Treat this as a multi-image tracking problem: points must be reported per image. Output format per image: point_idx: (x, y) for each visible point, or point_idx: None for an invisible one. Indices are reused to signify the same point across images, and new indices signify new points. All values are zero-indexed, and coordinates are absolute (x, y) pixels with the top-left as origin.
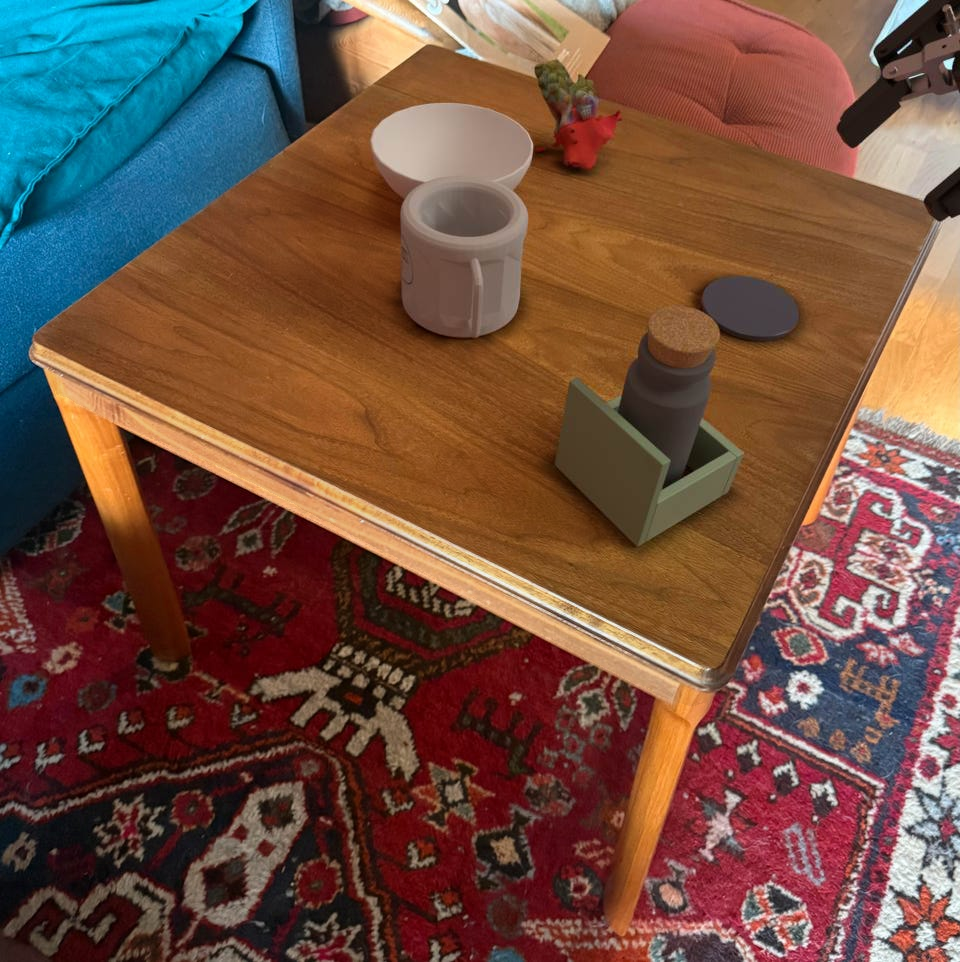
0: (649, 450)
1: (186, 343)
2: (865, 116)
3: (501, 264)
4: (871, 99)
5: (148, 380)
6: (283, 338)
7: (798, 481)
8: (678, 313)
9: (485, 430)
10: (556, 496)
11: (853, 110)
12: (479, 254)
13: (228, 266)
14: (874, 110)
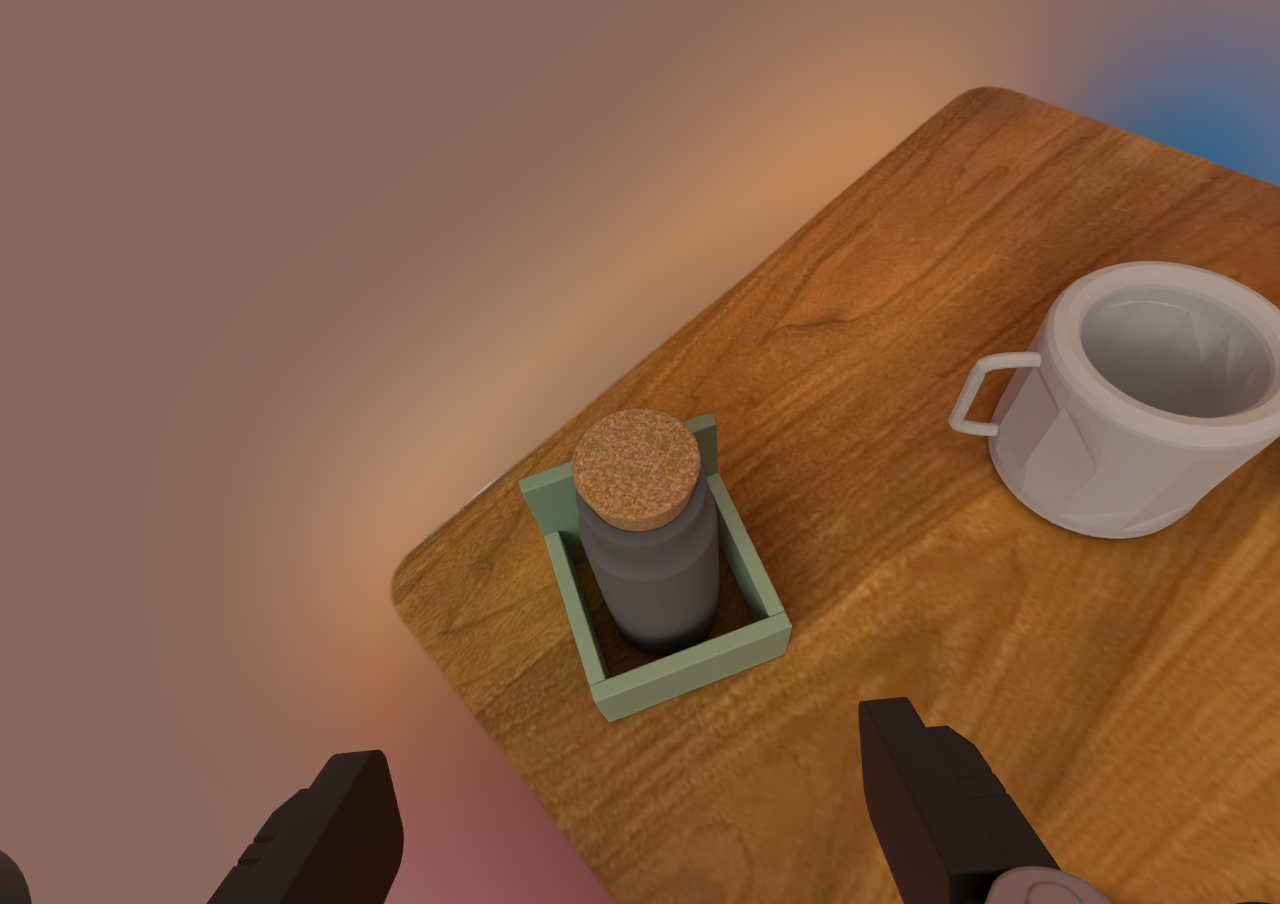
0: (548, 471)
1: (976, 176)
2: (890, 786)
3: (1053, 412)
4: (929, 793)
5: (912, 153)
6: (987, 254)
7: (598, 862)
8: (673, 462)
9: (792, 435)
10: None
11: (926, 739)
12: (1045, 357)
13: (1144, 207)
14: (905, 827)
